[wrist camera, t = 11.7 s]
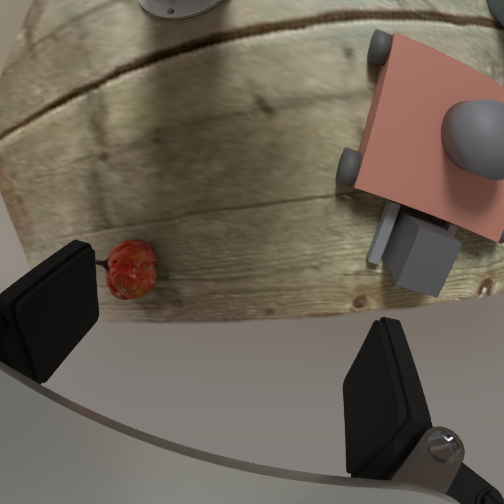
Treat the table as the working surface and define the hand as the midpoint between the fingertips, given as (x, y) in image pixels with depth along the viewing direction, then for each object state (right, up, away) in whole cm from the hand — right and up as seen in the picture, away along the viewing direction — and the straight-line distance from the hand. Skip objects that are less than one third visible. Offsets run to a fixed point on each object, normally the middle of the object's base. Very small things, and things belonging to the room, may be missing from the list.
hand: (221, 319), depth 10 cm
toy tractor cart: (+21, +11, +20) cm, 31 cm away
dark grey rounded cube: (+19, +4, +23) cm, 30 cm away
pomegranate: (-13, +1, +30) cm, 33 cm away
